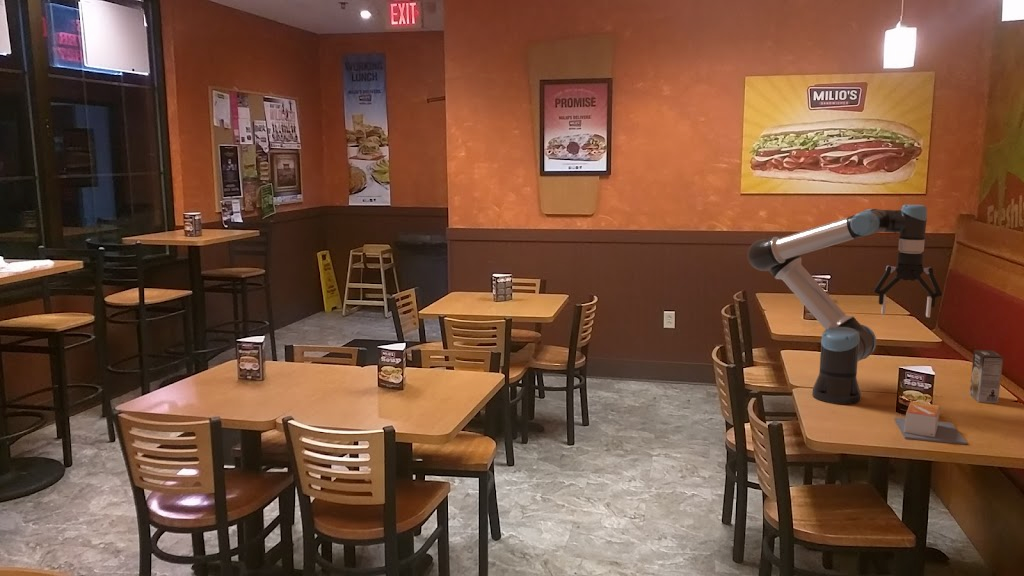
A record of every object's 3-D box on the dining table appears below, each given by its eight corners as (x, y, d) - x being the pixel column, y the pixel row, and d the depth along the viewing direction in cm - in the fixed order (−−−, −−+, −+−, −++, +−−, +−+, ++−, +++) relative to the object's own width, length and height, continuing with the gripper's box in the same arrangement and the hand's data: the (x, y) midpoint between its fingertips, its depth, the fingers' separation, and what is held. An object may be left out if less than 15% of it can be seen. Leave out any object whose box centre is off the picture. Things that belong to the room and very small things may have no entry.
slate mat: (905, 438, 229) (905, 436, 229) (894, 419, 246) (894, 417, 246) (966, 444, 224) (967, 442, 224) (951, 424, 241) (951, 422, 241)
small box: (940, 405, 238) (937, 417, 227) (938, 425, 239) (935, 438, 228) (910, 400, 242) (905, 412, 231) (908, 420, 243) (903, 432, 232)
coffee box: (968, 394, 272) (972, 349, 270) (988, 395, 271) (993, 350, 268) (978, 402, 263) (983, 355, 261) (999, 403, 262) (1004, 356, 260)
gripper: (950, 252, 259) (944, 315, 262) (867, 249, 266) (863, 311, 269) (956, 254, 252) (949, 319, 255) (871, 251, 259) (866, 315, 262)
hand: (905, 315), depth 262 cm, fingers open, 13 cm apart
